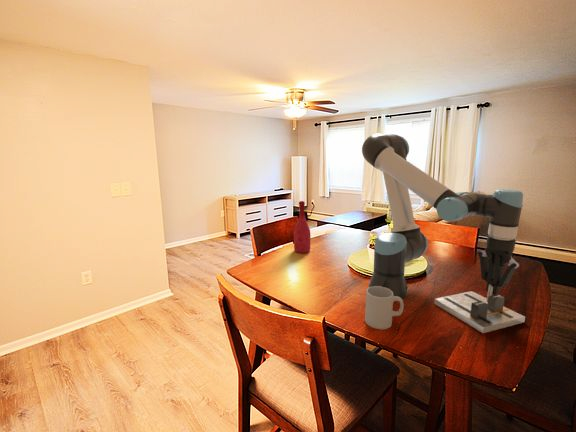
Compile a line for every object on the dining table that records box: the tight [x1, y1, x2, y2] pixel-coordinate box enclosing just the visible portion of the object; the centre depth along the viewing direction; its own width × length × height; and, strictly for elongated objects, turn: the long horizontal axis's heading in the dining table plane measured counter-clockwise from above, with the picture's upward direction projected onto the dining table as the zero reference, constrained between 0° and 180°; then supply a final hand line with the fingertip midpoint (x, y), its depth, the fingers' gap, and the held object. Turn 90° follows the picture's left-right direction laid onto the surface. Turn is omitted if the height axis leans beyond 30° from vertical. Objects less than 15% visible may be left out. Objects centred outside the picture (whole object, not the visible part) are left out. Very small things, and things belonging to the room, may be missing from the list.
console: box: [433, 291, 526, 334], centre depth 97 cm, size 18×19×7 cm
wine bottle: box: [293, 200, 311, 254], centre depth 163 cm, size 10×10×30 cm
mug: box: [364, 286, 405, 330], centre depth 92 cm, size 12×8×11 cm
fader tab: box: [488, 294, 505, 312], centre depth 95 cm, size 4×2×5 cm, turn 107°
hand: (490, 301), depth 97 cm, fingers closed
